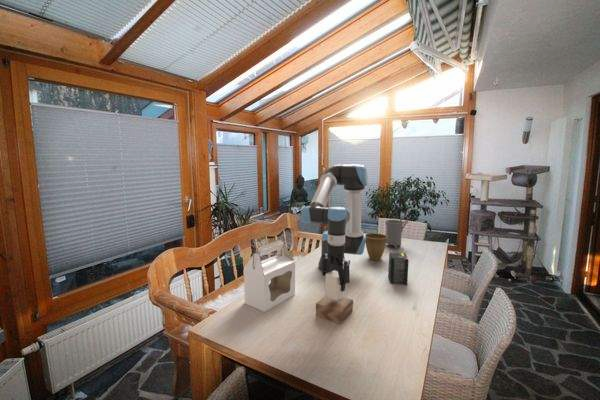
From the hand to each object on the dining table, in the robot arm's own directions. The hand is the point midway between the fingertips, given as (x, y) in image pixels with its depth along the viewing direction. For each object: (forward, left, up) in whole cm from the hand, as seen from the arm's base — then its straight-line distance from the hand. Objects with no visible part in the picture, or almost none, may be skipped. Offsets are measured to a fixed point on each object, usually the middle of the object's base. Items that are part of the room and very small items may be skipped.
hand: (334, 294), depth 126 cm
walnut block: (0, 0, -9) cm, 9 cm away
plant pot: (-26, +75, -9) cm, 80 cm away
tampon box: (+2, +53, -9) cm, 54 cm away
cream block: (0, 0, 0) cm, 0 cm away
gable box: (-30, -12, -9) cm, 34 cm away
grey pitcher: (-31, +111, -9) cm, 116 cm away
